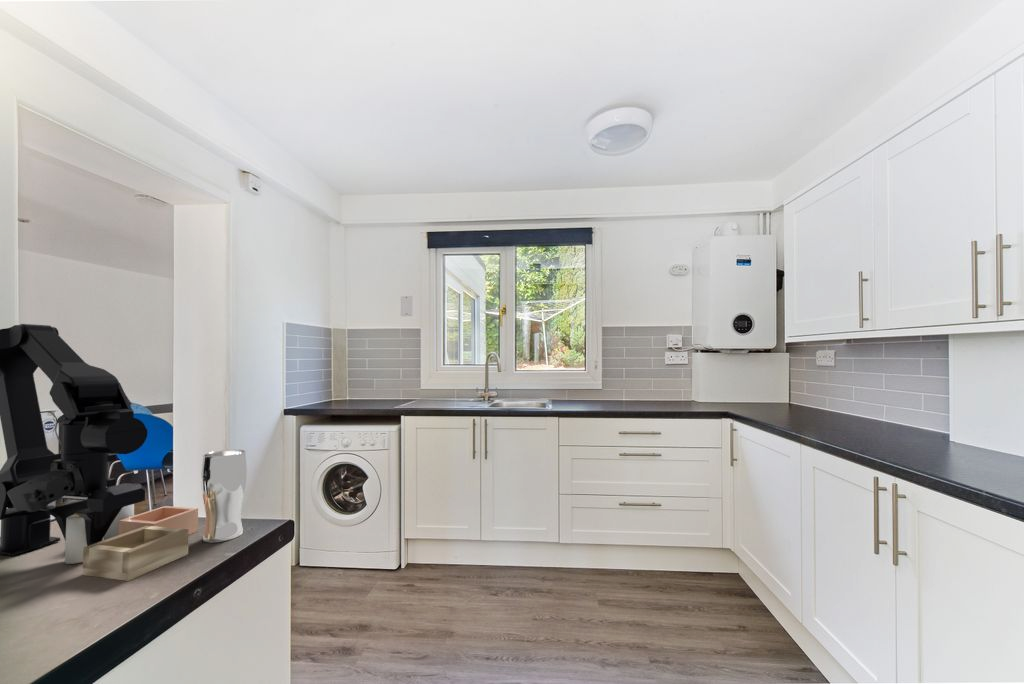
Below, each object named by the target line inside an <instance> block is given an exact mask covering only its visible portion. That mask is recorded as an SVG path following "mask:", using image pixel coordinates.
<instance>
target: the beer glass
mask: <svg viewBox="0 0 1024 684" xmlns="http://www.w3.org/2000/svg"><path fill="white" fill-rule="evenodd" d="M246 452H247V451H246V450H245V449H226V450H225V449H224V450H218V451H217V450H216V451H211V452H210V451H209V452H207V453H204V454H203V455H202V464H201V472H200V473H201V474H200V488H201V496H202V501H203V505H204V511H205V528H204V531H203V535H202V540H203V542H205V543H208V544H209V543H210V544H214V543H221V542H222V543H223V542H226V541H230V540H234V539H236V538H239V537H240V536H241V535H243V532H244V529H243V524H242V517H241V515H242V513H241V512H242V504H243V500H244V496H245V492H246V485H247V455H246Z"/></svg>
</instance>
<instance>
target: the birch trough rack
mask: <svg viewBox="0 0 1024 684" xmlns="http://www.w3.org/2000/svg"><path fill="white" fill-rule="evenodd" d="M189 538H190V537H189V529H178V528H167V527H156V526H144V527H141V528H138V529H135V530H132V531H130V532H127V533H124V534H121V535H118V536H115V537H112V538H109V539H106V540H104V539H103V540H102V541H101V542H98V543H95V544H92V545H89V546H86V547H83V562H82V576H87V577H88V576H90V577H97V578H102V579H103V578H104V579H111V580H118V581H119V580H120V581H125V582H129V581H131V580H133V579H136V578H138V577H140V576H143V575H145V574H147V573H149V572H152V571H153V570H156V569H158V568H161V567H162V566H165V565H167V564H169V563H171V562H173V561H176V560H178V559H181V558H183V557H185V556H187V555H189Z"/></svg>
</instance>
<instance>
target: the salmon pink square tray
mask: <svg viewBox="0 0 1024 684" xmlns="http://www.w3.org/2000/svg"><path fill="white" fill-rule="evenodd" d="M144 526H156V527H167V528H178V529H189V535H192V534H194V533H197V532H198V531H199V528H198V527H199V508H196V507H195V508H194V507H187V506H186V507H182V506H171V505H163V506H161V507H157V508H154V509H151V510H147V511H144V512H141V513H139V514H134V516H132V517H129V518H125V519H122V520H119V530H118V535H121V534H124V533H127V532H130V531H132V530H135V529H138V528H141V527H144Z"/></svg>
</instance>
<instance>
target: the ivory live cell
mask: <svg viewBox="0 0 1024 684" xmlns="http://www.w3.org/2000/svg"><path fill="white" fill-rule="evenodd" d="M86 546H87V541H86V530H85V520H84V519H83V518H82V517H80V516H79V515H77V514H75V513H74V515H72V516H69V517H67V518H66V541H65V546H64V549H65V550H64V563H65V564H68V565H69V564H71V565H72V564H79V563H83V547H86Z"/></svg>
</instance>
